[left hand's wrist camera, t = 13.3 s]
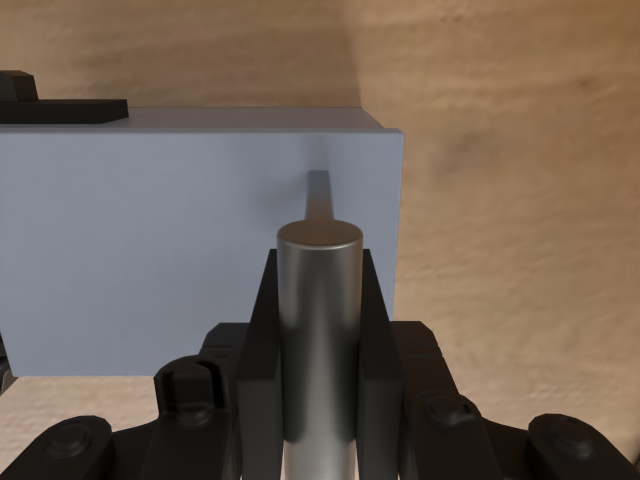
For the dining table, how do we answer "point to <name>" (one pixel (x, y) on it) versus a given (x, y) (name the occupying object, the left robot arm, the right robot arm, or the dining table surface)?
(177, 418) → the left robot arm
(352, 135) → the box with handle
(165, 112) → the chest
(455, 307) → the dining table surface
